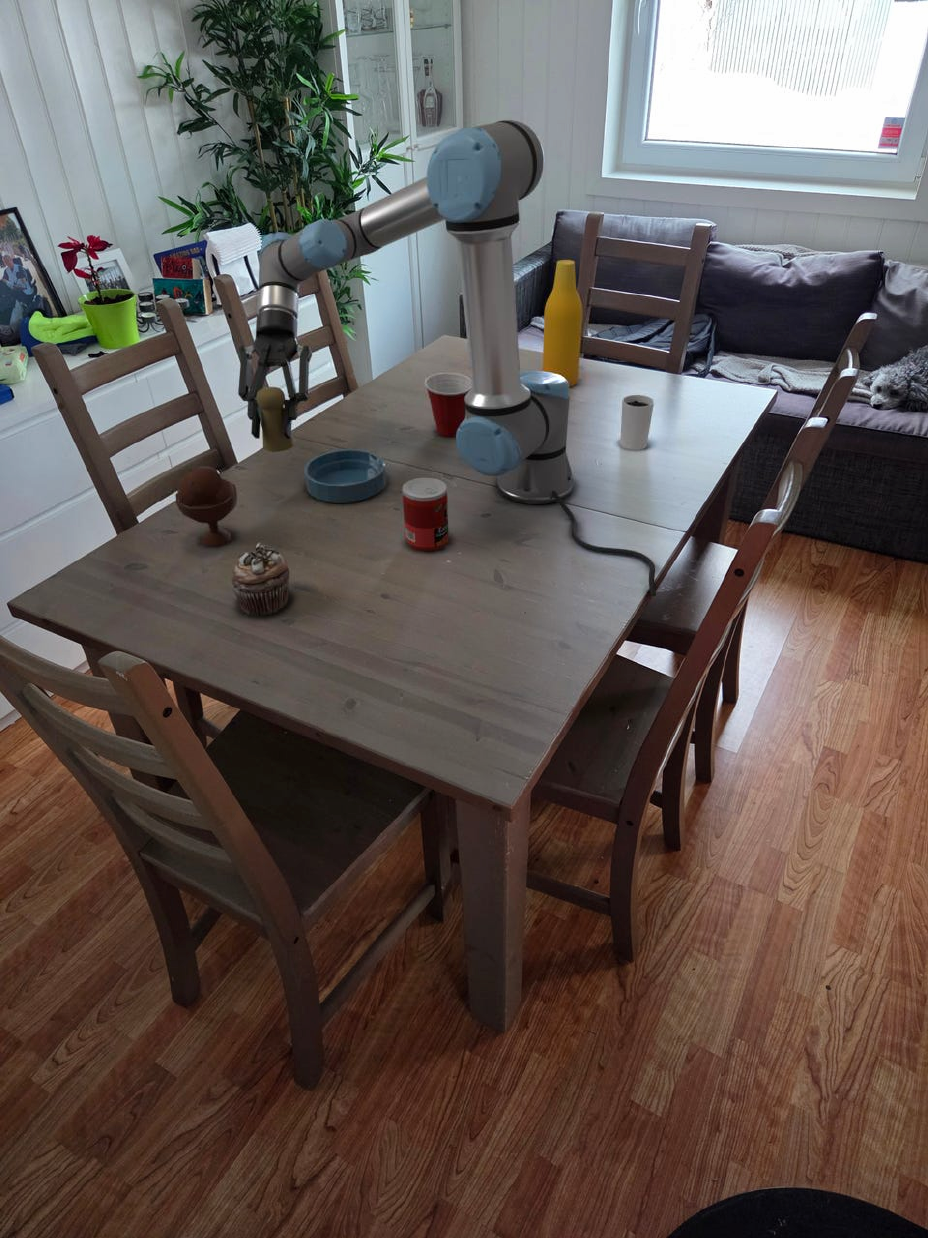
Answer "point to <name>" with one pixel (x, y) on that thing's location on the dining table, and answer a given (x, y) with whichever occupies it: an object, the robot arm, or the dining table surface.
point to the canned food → (426, 513)
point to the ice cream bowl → (207, 501)
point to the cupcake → (261, 581)
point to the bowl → (345, 475)
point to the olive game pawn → (273, 419)
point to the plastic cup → (448, 400)
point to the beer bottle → (563, 325)
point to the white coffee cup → (636, 421)
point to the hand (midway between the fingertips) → (271, 435)
